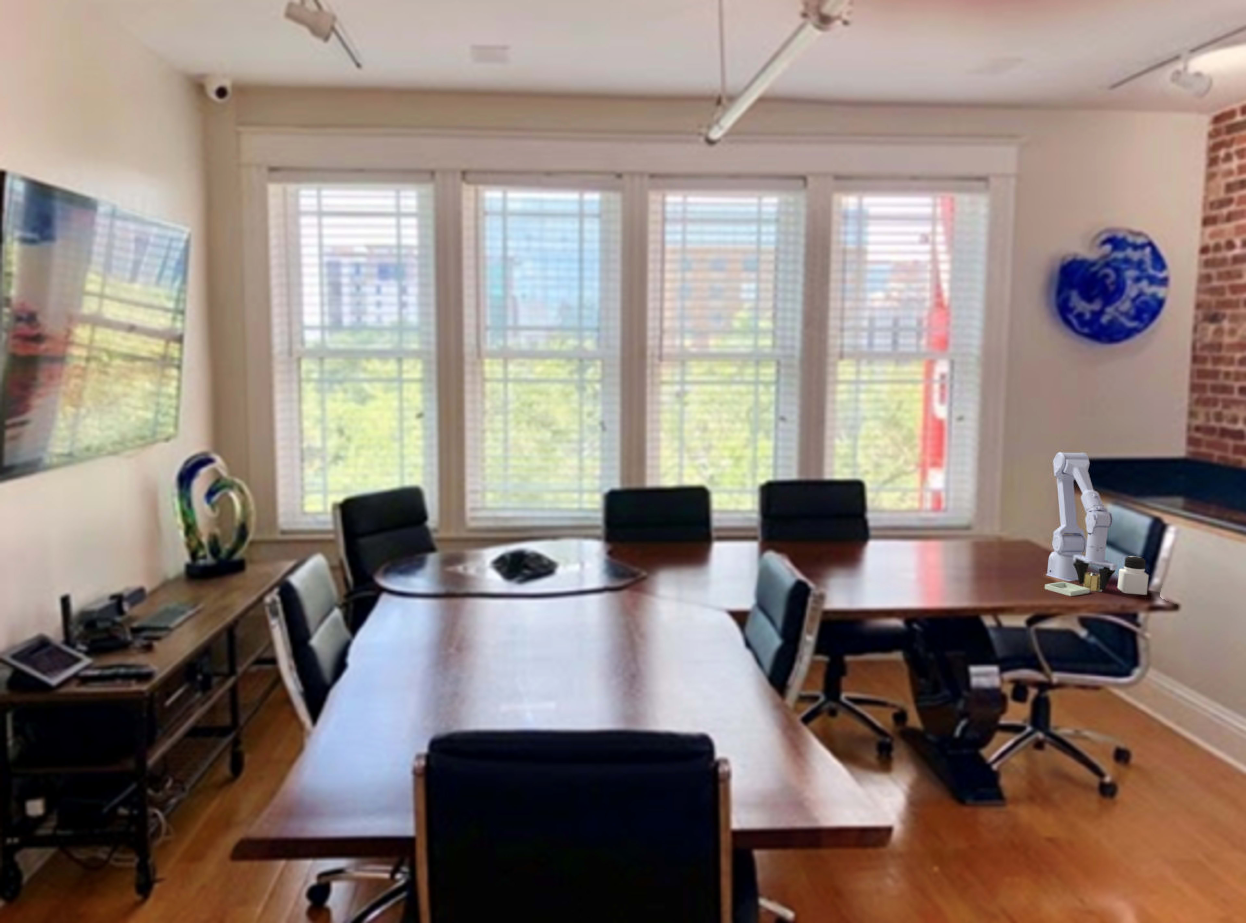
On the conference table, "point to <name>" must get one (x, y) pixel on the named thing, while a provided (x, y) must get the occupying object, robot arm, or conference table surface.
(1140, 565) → the medicine bottle
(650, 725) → the conference table surface
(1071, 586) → the tray
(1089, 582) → the collar
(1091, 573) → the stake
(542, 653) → the conference table surface
